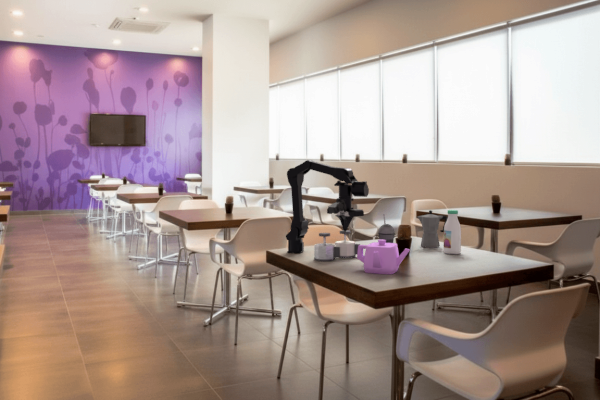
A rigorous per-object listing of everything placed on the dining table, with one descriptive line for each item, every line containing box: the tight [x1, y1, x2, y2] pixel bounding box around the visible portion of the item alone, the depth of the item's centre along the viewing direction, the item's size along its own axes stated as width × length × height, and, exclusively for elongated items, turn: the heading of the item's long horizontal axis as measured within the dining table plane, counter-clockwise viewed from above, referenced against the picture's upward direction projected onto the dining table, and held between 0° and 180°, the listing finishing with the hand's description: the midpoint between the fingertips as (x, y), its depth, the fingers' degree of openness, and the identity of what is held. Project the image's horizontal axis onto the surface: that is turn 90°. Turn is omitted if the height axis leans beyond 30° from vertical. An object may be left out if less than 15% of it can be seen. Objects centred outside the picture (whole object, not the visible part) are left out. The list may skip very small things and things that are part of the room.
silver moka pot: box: [313, 242, 341, 262], centre depth 250 cm, size 12×9×6 cm
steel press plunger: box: [318, 232, 331, 245], centre depth 250 cm, size 5×5×6 cm
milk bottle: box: [443, 209, 462, 255], centre depth 264 cm, size 8×8×20 cm
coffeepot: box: [416, 210, 448, 249], centre depth 283 cm, size 15×9×18 cm, turn 70°
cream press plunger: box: [339, 229, 352, 243], centre depth 257 cm, size 5×5×6 cm
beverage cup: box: [377, 213, 396, 243], centre depth 249 cm, size 7×7×20 cm
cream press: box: [334, 240, 361, 259], centre depth 257 cm, size 12×9×6 cm
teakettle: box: [356, 239, 411, 275], centre depth 226 cm, size 17×17×12 cm
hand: (345, 230), depth 257 cm, fingers closed
